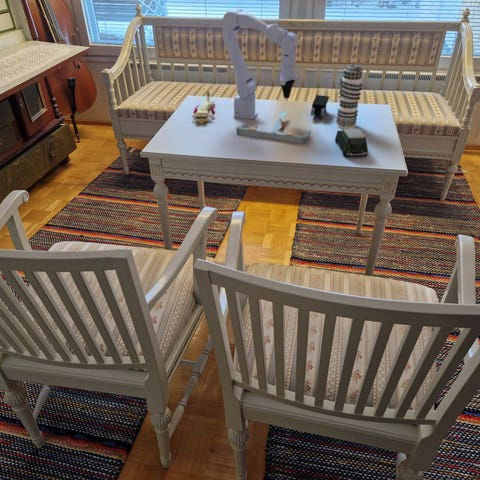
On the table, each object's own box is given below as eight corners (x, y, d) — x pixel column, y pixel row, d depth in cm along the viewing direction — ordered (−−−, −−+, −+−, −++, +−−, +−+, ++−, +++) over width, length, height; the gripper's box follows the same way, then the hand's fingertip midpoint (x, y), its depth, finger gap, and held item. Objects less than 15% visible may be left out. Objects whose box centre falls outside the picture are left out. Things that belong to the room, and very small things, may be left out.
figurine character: (324, 124, 190) (328, 110, 201) (325, 108, 185) (330, 94, 196) (309, 123, 192) (314, 108, 202) (310, 107, 187) (315, 93, 197)
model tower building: (331, 123, 188) (337, 64, 173) (349, 120, 190) (357, 62, 175) (341, 130, 181) (349, 69, 166) (360, 127, 183) (369, 67, 168)
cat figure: (199, 109, 210) (190, 123, 189) (198, 90, 205) (188, 103, 184) (219, 109, 209) (212, 123, 188) (218, 90, 205) (211, 103, 183)
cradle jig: (236, 133, 180) (236, 126, 178) (243, 127, 185) (243, 120, 183) (304, 144, 170) (305, 136, 168) (310, 136, 175) (310, 129, 174)
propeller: (267, 138, 175) (267, 128, 173) (282, 117, 194) (282, 108, 192) (277, 139, 174) (277, 129, 172) (291, 118, 193) (291, 109, 191)
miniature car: (355, 139, 173) (358, 120, 168) (368, 158, 158) (372, 138, 154) (333, 140, 173) (336, 121, 168) (344, 159, 158) (347, 139, 153)
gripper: (292, 70, 170) (290, 103, 178) (302, 61, 181) (300, 93, 189) (275, 68, 172) (274, 101, 180) (286, 60, 183) (284, 92, 191)
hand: (286, 97), depth 185 cm, fingers closed
